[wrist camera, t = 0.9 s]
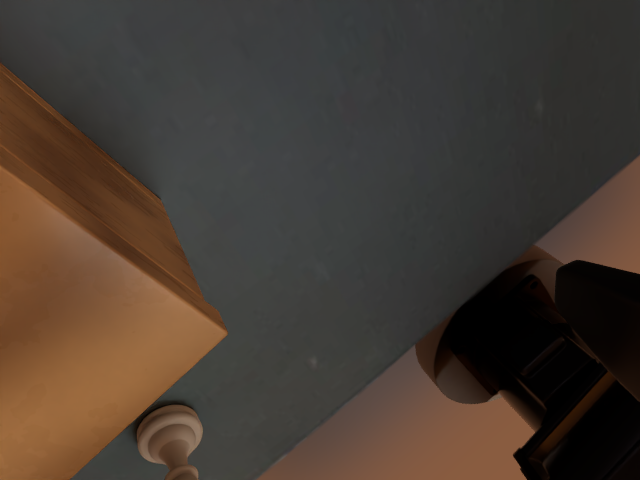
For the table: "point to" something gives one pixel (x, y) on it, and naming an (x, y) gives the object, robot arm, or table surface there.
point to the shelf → (83, 294)
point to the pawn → (171, 439)
